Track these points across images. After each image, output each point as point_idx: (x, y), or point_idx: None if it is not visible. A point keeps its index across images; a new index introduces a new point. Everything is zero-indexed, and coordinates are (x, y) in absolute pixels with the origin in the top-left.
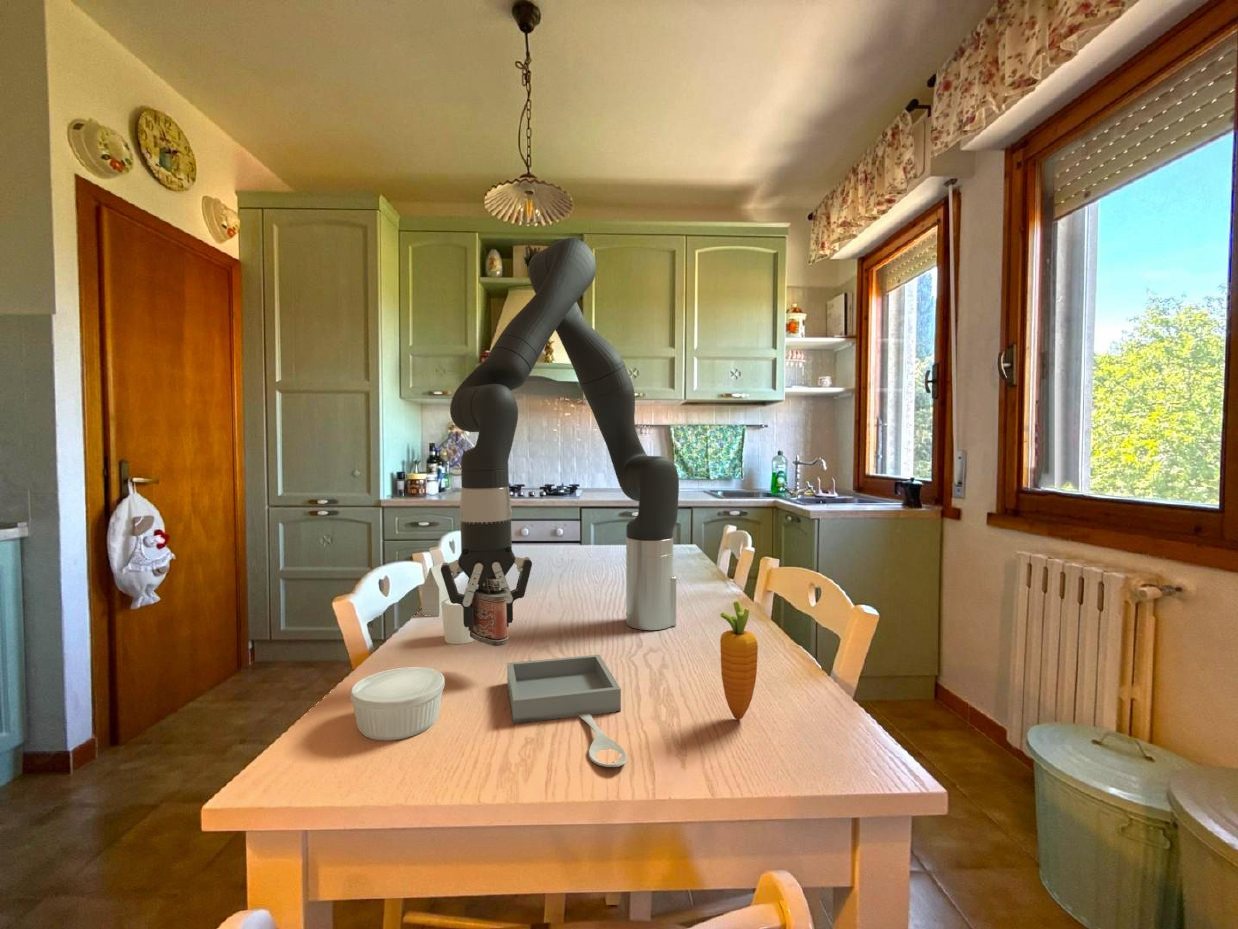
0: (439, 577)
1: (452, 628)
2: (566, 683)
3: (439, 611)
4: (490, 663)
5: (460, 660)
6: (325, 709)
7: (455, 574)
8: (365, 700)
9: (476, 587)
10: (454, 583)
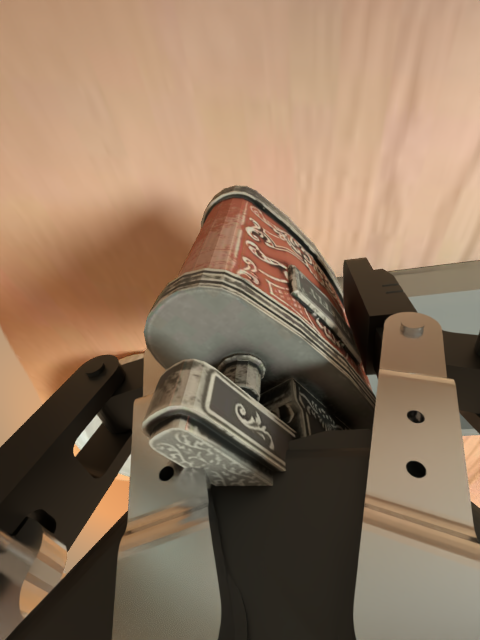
0: None
1: None
2: (457, 318)
3: None
4: (274, 130)
5: (166, 88)
6: (18, 344)
7: (61, 557)
8: (125, 475)
9: (193, 325)
10: (79, 475)
